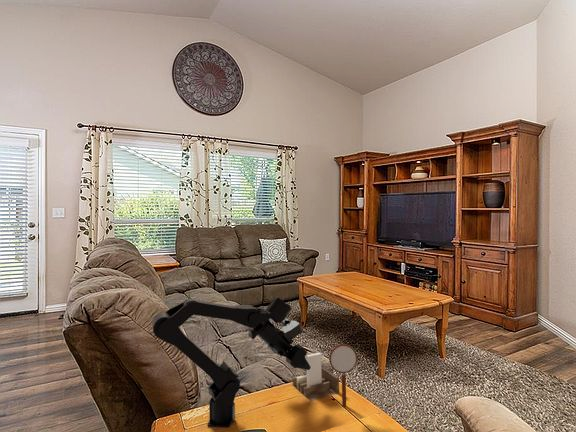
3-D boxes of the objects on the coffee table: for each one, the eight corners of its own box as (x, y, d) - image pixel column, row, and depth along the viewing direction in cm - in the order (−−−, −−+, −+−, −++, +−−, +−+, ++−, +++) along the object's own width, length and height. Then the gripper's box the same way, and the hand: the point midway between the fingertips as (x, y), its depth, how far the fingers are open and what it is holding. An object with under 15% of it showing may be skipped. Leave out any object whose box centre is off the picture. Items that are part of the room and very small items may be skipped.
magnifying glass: (357, 408, 105) (356, 342, 106) (359, 411, 103) (357, 344, 104) (329, 410, 104) (328, 343, 105) (330, 413, 103) (329, 345, 103)
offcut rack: (310, 405, 107) (309, 384, 107) (291, 388, 118) (291, 369, 119) (339, 397, 112) (338, 377, 112) (319, 382, 123) (318, 363, 123)
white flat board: (308, 393, 112) (308, 356, 112) (307, 392, 113) (306, 355, 113) (321, 390, 114) (321, 353, 114) (319, 388, 115) (319, 352, 116)
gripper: (300, 321, 102) (332, 352, 106) (275, 308, 118) (303, 335, 123) (277, 352, 98) (311, 383, 102) (254, 335, 115) (284, 361, 119)
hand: (302, 363), depth 112 cm, fingers open, 9 cm apart
